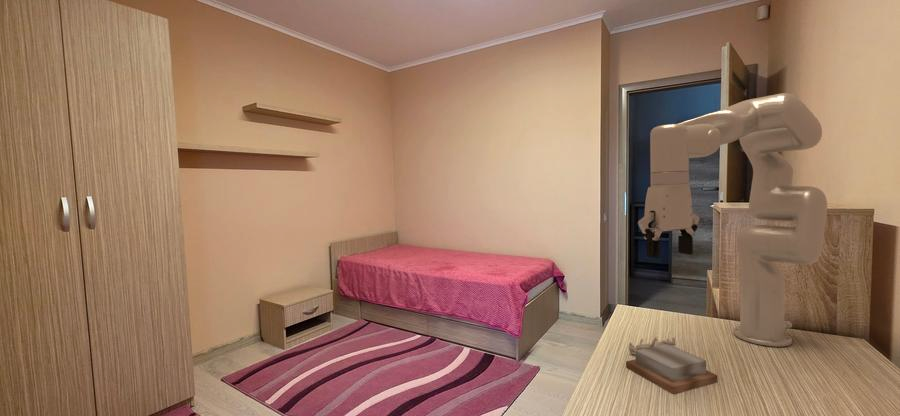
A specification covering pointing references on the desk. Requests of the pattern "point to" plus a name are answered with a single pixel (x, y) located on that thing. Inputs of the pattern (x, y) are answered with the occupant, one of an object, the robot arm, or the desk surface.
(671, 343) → the soldier figure
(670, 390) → the tower pedestal
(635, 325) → the desk surface
